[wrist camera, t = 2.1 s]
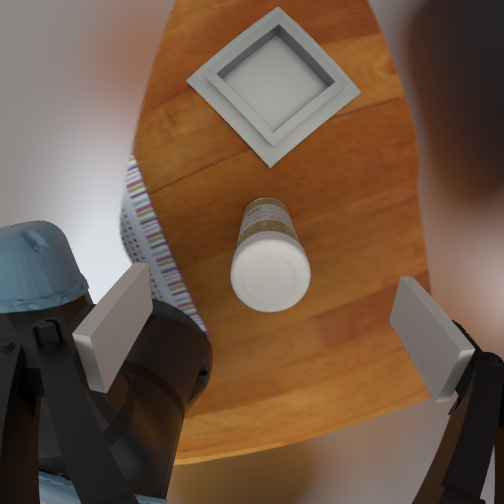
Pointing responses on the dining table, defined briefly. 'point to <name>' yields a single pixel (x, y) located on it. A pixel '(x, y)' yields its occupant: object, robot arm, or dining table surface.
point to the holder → (273, 85)
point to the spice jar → (269, 258)
